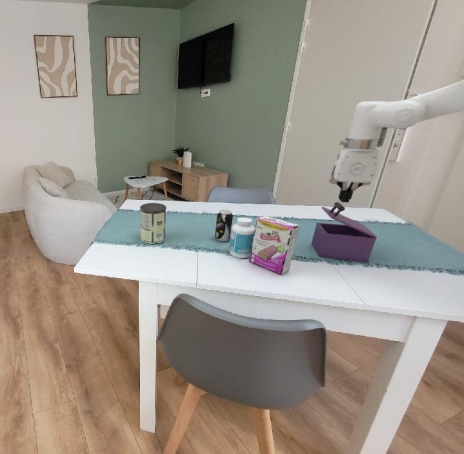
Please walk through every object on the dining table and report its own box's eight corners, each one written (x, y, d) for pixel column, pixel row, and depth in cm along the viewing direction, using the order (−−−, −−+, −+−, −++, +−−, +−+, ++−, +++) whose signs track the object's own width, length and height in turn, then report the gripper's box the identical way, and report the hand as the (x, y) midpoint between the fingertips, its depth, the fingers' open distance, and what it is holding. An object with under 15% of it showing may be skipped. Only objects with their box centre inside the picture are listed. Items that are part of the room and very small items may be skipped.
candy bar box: (248, 262, 100) (255, 218, 93) (256, 257, 102) (264, 214, 96) (281, 276, 91) (292, 228, 85) (289, 271, 94) (300, 224, 87)
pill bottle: (255, 255, 104) (261, 220, 99) (242, 261, 101) (248, 225, 95) (236, 247, 110) (241, 214, 105) (224, 253, 107) (228, 219, 101)
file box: (319, 257, 101) (325, 234, 97) (311, 244, 110) (316, 222, 106) (367, 262, 96) (376, 238, 93) (355, 248, 105) (362, 225, 102)
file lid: (330, 218, 95) (340, 207, 93) (321, 207, 104) (330, 197, 102) (375, 238, 93) (387, 227, 91) (362, 225, 102) (371, 215, 100)
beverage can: (229, 243, 113) (233, 214, 109) (213, 241, 116) (216, 213, 111) (230, 237, 118) (233, 209, 113) (215, 235, 121) (218, 208, 116)
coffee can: (148, 231, 127) (149, 201, 122) (169, 237, 121) (171, 205, 115) (135, 240, 120) (134, 208, 115) (156, 246, 114) (157, 213, 108)
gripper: (335, 146, 89) (320, 203, 96) (397, 146, 84) (376, 206, 91) (327, 143, 95) (314, 196, 102) (385, 143, 90) (366, 199, 97)
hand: (343, 201), depth 96 cm, fingers closed
